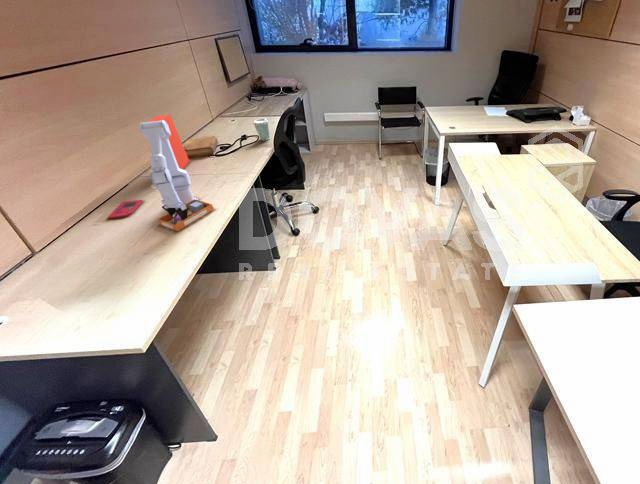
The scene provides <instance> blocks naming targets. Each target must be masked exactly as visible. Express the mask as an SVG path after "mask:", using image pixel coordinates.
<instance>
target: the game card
mask: <svg viewBox="0 0 640 484" xmlns="http://www.w3.org/2000/svg"><path fill="white" fill-rule="evenodd" d="M176 209H178V208H176ZM175 215H176V212H175V214H174V215H173V217H174V218H173V222H172V224H174V225H176V224H177V223H178V222H181V221H182V219H181V218H180V216H179V215H178V214H177V216H176V217H175Z"/></svg>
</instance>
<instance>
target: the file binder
mask: <svg viewBox="0 0 640 484" xmlns="http://www.w3.org/2000/svg"><path fill="white" fill-rule="evenodd" d="M162 120H164V121H165V122H166V123H167V124H168V127H169V129H170V132H171V136H169V137H168V139H169V142H170V145H171V148H172V150H173V153H174V156H175V159H176V161H177V164H178V167H179V168H180V169H182V170H185V168H186V167H187V166H188V165H189V163H190V159H189V157H188V156H187V154H186V152H185V149H184V144H183V142H182V139H181V137H180V134H179V132H178V130H177V127H176V125H175V123H174V120H173V117H172V115H171V114H165V115H164V114H163V115H156V116H155V117H153V118H151V119H150V120H148V122H154V121H162Z"/></svg>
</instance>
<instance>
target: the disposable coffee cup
mask: <svg viewBox="0 0 640 484" xmlns="http://www.w3.org/2000/svg"><path fill="white" fill-rule="evenodd" d="M253 125H254V128H255V130H256V133H257V134H258V137H259V139H260V140H261V141H268V140H270V130H269V128H270V127H269V121H268V120H267V118H257V119H255V120H254V121H253Z"/></svg>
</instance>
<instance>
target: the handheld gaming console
mask: <svg viewBox="0 0 640 484" xmlns="http://www.w3.org/2000/svg"><path fill="white" fill-rule="evenodd" d="M142 203H144V202H143V200H142V199H135V200H125V201H122V202H121V203H120V204H119V205H118V206H117V207H116V208H115V209H114V210H113V211H112V212H111V213H110V214H109V215H108V216H107V218H108V219H110V220H111V219H120V218H121V219H122V218H126V217H129V216H131V215H133V214H134V213H135V211H136V210H137V209H138V208H139V207H140V206H141V205H142Z"/></svg>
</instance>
